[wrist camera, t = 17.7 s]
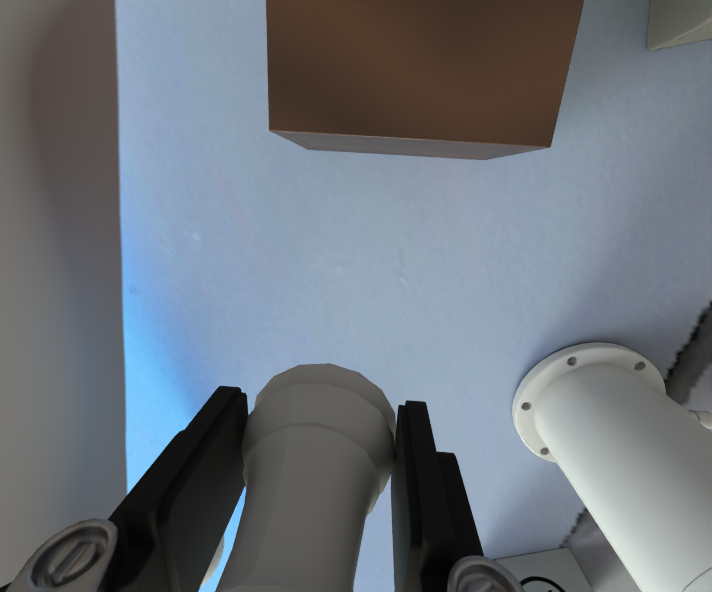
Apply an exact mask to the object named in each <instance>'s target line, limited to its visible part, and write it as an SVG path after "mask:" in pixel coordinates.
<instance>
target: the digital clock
mask: <svg viewBox="0 0 712 592" xmlns="http://www.w3.org/2000/svg"><path fill="white" fill-rule="evenodd" d="M708 39H712V0H650V10H649V21H648V31H647V44H646V47H647V50H648V51H652V50H657V49H662V48H667V47H672V46H678V45H683V44H688V43H693V42H698V41H703V40H708Z"/></svg>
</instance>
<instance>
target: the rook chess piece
mask: <svg viewBox="0 0 712 592" xmlns="http://www.w3.org/2000/svg"><path fill="white" fill-rule="evenodd" d="M395 435H396V420H395V412H394V411H393V409H392V407H391V405H390V404H389V402H388V400H387V398H386V397H385V395H384V393H383V391H382V390H381V389H380V388H378V387H377V386H376V385H374V384H373V383H372V382H370V381H369V380H368V379H367V378H365V377H364V376H363V375H361V374H360V373H359V372H355V371H352V370H349V369H346V368H342V367H339V366H336V365H333V364H309V365H298V366H296V367H294V368H291V369H289V370H287V371H285V372H282V373H280V374H278V375H276V376H274V377H273V378H272V379H271V380H270V381H269V382H268V383H267V385H266V386H265V387H264V388H263V389H262V390H261V391H260V393H259V394H258V395H257V398H256V402H255V406H254V410H253V411H252V412H251V413H250V414H249V416H248V419H247V423H246V427H245V431H244V435H243V440H242V446H241V453H242V457H243V461H244V465H245V466H244V470H243V478H244V482H245V486H246V496H245V504H244V508H243V511H242V515H241V519H240V523H239V526H238V530H237V534H236V537H235V541H234V545H233V548H232V551H231V553H230V556H229V558H228V561H227V563H226V566H225V568H224V571H223V573H222V576H221V578H220V581H219V583H218V586H217V588H216V591H215V592H353V585H354V578H355V573H356V567H357V562H358V556H359V551H360V545H361V540H362V534H363V529H364V523H365V519H366V516H367V515H368V514H369V513H371V512H372V510H373V508H374V506H375V503H376V501H377V499H378V497H379V495H380V494H381V493H382V492H383V490H384V488H385V486H386V484H387V481H388V479H389V477H390V475H391V473H392V470H393V467H394V464H395Z"/></svg>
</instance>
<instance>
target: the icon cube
mask: <svg viewBox="0 0 712 592" xmlns="http://www.w3.org/2000/svg"><path fill="white" fill-rule="evenodd" d="M493 561H496V562H498V563H499V564H501V565H502V566H503V567H505V568H506V569H507V570H508V571H510V572H511V573H512V574H513V576H514V577H515V578H516V579H517V580H518V581H519V583H520V584H521V585H522V587H523V589H524V591H525V592H593V591H592V589H591V587H590V585H589V583H588V582H587V580H586V578H585V576H584V574H583V572H582V570H581V568H580V567H579V565H578V563H577V561H576V559H575V557H574V555H573V553H572V552H571V550H570V548H569V547H567V548H561V549H555V550H549V551H544V552H538V553H532V554H526V555H520V556H514V557H509V558H503V559H497V560H493Z"/></svg>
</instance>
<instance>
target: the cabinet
mask: <svg viewBox="0 0 712 592" xmlns="http://www.w3.org/2000/svg"><path fill="white" fill-rule="evenodd" d="M583 3H584V0H266V19H267V60H268V102H269V131H271V132H273V133H275V134H277V135H279V136H282V137H284V138H286V139H288V140H290V141H292V142H294V143H296V144H298V145H300V146H302V147H304V148H306V149H308V150H324V151H341V152H358V153H375V154H391V155H408V156H425V157H442V158H458V159H475V160H487V159H493V158H498V157H503V156H508V155H514V154H519V153H524V152H529V151H534V150H540V149H544V148H549V147H551V143H552V139H553V134H554V130H555V126H556V121H557V117H558V112H559V108H560V104H561V99H562V95H563V91H564V86H565V82H566V77H567V73H568V69H569V64H570V60H571V56H572V51H573V47H574V43H575V38H576V34H577V29H578V25H579V21H580V16H581V12H582V8H583Z"/></svg>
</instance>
